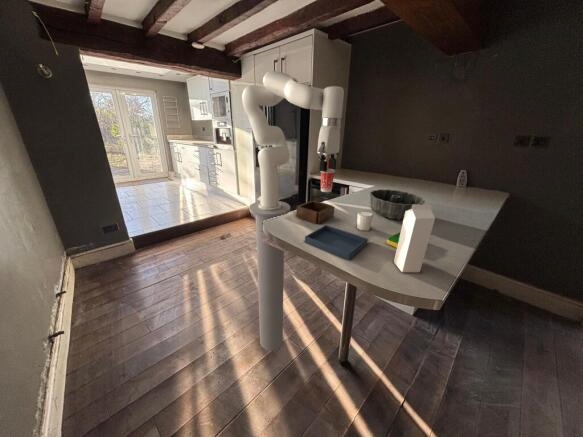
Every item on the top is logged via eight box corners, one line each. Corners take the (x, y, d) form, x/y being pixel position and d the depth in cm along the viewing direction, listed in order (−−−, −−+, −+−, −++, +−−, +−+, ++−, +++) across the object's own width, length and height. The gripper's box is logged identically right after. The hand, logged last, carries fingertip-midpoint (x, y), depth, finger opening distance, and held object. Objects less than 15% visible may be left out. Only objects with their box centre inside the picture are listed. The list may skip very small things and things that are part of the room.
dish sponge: (420, 241, 95) (421, 235, 94) (403, 251, 87) (404, 245, 86) (403, 234, 100) (404, 229, 99) (386, 243, 92) (387, 238, 91)
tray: (304, 242, 91) (305, 236, 90) (325, 230, 102) (325, 224, 101) (348, 259, 80) (349, 253, 79) (366, 244, 91) (367, 238, 90)
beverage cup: (333, 189, 101) (336, 156, 96) (332, 193, 96) (335, 158, 91) (320, 188, 103) (322, 156, 97) (317, 192, 97) (320, 158, 92)
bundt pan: (420, 211, 128) (424, 193, 124) (420, 228, 107) (425, 207, 103) (371, 203, 139) (374, 186, 136) (362, 217, 118) (365, 198, 114)
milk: (419, 272, 74) (439, 208, 66) (401, 272, 74) (418, 208, 66) (410, 261, 80) (426, 201, 71) (393, 261, 80) (407, 201, 71)
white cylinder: (366, 224, 109) (368, 210, 106) (374, 230, 103) (376, 216, 100) (353, 225, 108) (355, 211, 105) (360, 231, 102) (362, 216, 99)
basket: (295, 216, 116) (295, 206, 114) (311, 209, 126) (312, 200, 124) (318, 224, 107) (319, 213, 105) (334, 216, 117) (335, 206, 115)
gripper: (333, 123, 98) (330, 166, 104) (310, 122, 85) (308, 171, 92) (350, 123, 93) (345, 168, 100) (328, 123, 81) (324, 174, 88)
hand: (327, 169), depth 96 cm, fingers closed on beverage cup, 6 cm apart
